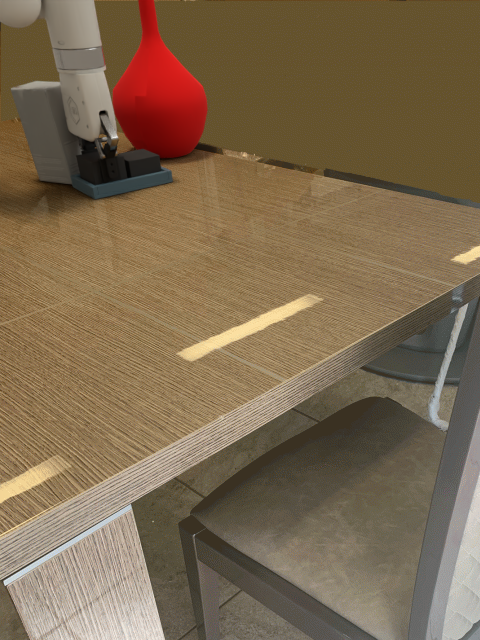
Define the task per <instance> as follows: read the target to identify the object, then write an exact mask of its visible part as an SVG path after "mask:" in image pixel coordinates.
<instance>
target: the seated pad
mask: <svg viewBox="0 0 480 640" xmlns="http://www.w3.org/2000/svg"><path fill="white" fill-rule="evenodd" d="M118 154H119V155H122V156H124V161H125V167H126V173H127V178H133V177H137V176H142V175H147V174H151V173H156V172H161V171H162V170H161V166H162V164H161V158H160V157H159V155H157V154H155V153H152V152H150V151H147V150H145V149H140V150H137V149H135V150H130V151H129V150H128V151H123V152H120V153H118Z"/></svg>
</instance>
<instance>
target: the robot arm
mask: <svg viewBox="0 0 480 640" xmlns="http://www.w3.org/2000/svg"><path fill="white" fill-rule="evenodd" d="M38 20H45V22H46V26H47V31H48V35H49V41H50V44H51V48H52V49H51V50H52V53H53V57H54V63H55V67H56V71H57V73H58V75H59V77H58V78H59V82H60V87H61V94H62V100H63V105H64V111H65V116H66V122H67V126H68V129H69V131H70V132H71V133H72V134H74V135H76V136H77V137H78V139H79V147H80V149H81V150H82V151H81V153H82V154H86V153H92V152H97V151H98V152H99V155H100V158H99V159H98V161H99V165H100V170H101V175H102V180H103V182H104V183H109V182H114V181H119V180H121V174H120V169H119V163H118V158H117V156H118V154H119V153H118V144H119V136H118V129H117V128H118V127H117V119H116V116H115V113H114V108H113V103H112V102H113V100H112V98H111V97H112V96H111V93H110V89H109V84H108V82H107V78H106V74H105V72H104V71H106V70H107V65H106V60H105V53H104V48H103V43H102V39H101V38H102V37H101V32H100V26H99V22H98V15H97V10H96V4H95V0H0V23H2V24H3V25H5V26H7V27H10V28H14V29H21V28H22V29H24V28H27V27H29V26H31V25H33V24H34V23H35V22H36V21H38ZM100 135H102V137H100ZM103 135H104V136H103ZM102 143H104V144H102Z"/></svg>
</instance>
